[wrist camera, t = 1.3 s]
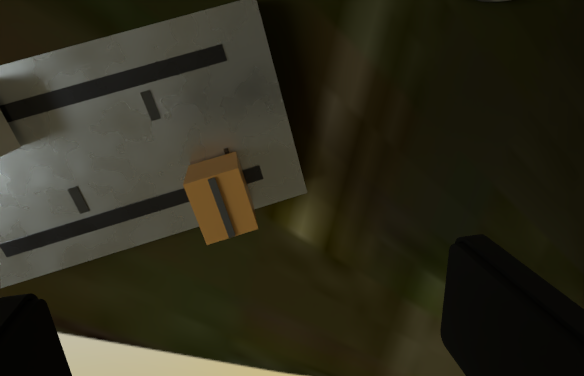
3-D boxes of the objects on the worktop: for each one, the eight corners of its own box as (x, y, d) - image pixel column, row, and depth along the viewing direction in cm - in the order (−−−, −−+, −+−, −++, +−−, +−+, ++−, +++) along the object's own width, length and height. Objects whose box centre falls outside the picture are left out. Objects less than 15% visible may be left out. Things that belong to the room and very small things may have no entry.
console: (252, 1, 25) (255, -4, 22) (300, 181, 30) (307, 193, 27) (-111, 100, 23) (-150, 105, 21) (2, 273, 28) (-18, 294, 26)
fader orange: (235, 151, 25) (238, 169, 21) (253, 204, 26) (258, 230, 23) (188, 165, 25) (182, 186, 21) (208, 218, 26) (206, 246, 23)
